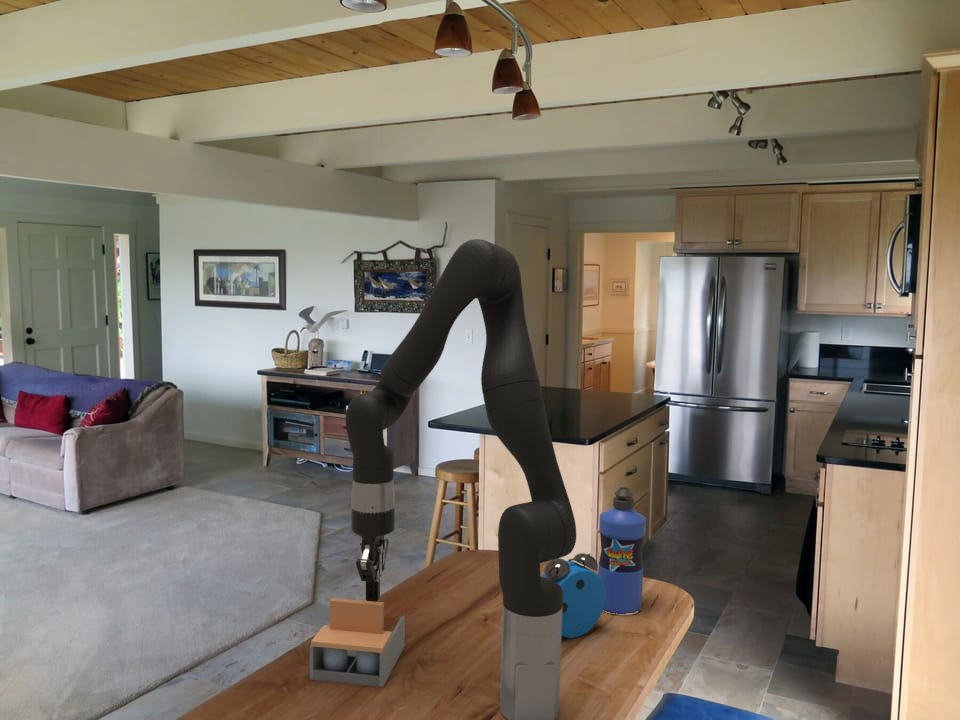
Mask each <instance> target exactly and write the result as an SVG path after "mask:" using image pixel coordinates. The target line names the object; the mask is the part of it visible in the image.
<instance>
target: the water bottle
mask: <svg viewBox="0 0 960 720" xmlns="http://www.w3.org/2000/svg"><path fill="white" fill-rule="evenodd" d="M614 495H615V496H613V498H612V499H613V500H612V506H613V507H612V508H611V509H608V510H606V511H603V512H601V513H600V514H599V524H598V531H599V537H600V556H599V561H598V568H597V571H598V572H597V573H598V574H597V575H598V576H599V577H600V578H601V580H602V582H603V584H604V588H605V604H604V608H603V610H604V611H607V612H610V613H615V614H616V613H617V614H626V613H634V612H636V611H639V610H640V609H641V610H642V601H643V599H642V598H643V582H644V581H643V578H644V565H643V556H642V555H643V554H642V553H643V547H644V543H645V542H644V541H645V536H646V532H647V531H646V530H647V518H646V516H645V515H644V514H641V513H639V512H637V511H636V510H635V509H634V508H635V499H634V498H633V496H634V493H633V491H631V489H630V488H629V487H626V486H621V487H619V488H618V489H617V490H615V492H614Z"/></svg>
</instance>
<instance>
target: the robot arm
mask: <svg viewBox="0 0 960 720" xmlns="http://www.w3.org/2000/svg"><path fill="white" fill-rule="evenodd" d="M523 295H524V293H523V285H522V277H521V270H520V266H519V263H518V261H517V258H515V256H514V255H513V253H511V251H509V250H508V249H507V248H504V247H502V246H500V245H498V244H495V243H492V242H490V241H487V240H485V239H480V238H478V239H477V238H474V239H470V240H466V241H465V242H463V243H462V244H460V246H458V247H457V249H456V250H455V251H454V253H453V254H452V255H451V257H450V258H449V260H448V262H447V264H446V266H445V268H444V269H443V272H442V273H441V275H440V278H439V279H438V281H437V283H436V285H435V286H434V288H433V290H432V292H431V294H430V295H429V298H428V299H427V301H426V303H425V304H424V307H423V308H422V311H421V312H420V313H419V315H418V317H417V319H416V320H415V322H414V324H413V325H412V327H411V328H410V329H409V331H408V333H406V335H405V337H404V338H403V339H402V340H401V342H400V343H399V344H398V346H397V347H396V348H395V349H394V351H393V352H392V353H391V355H390V356H389V358H388V359H387V360H386V361H385V363H384V364H383V366H382V367H381V369H380V380H379V381H378V383H377V384H376V385H375V387H373V388H372V390H371V391H368V392H365V393H361V394H358V395H356V396H354V397H353V398H352V399H351V400H350V402H349V403H348V405H347V408H346V413H345V427H346V428H345V429H346V433H347V438H348V443H349V447H350V450H351V453H352V458H353V459H352V486H351V487H352V488H351V499H350V501H351V503H350V506H351V523H350V524H351V532H352V533H354V534H355V535H356V536H357V535H358V536H360V537H361V542H360V543H359V547H358V548H359V549H358V553H359V554H360V558H357V559H356V561H355V565H356V568H357V572H358V575H359V578H360V581H361V582H365V601H373V602H379V601H378V600H379V599H380V598H381V579H382V576H383V574H382V572H384V571H385V565H386V559H387V553H388V548H389V547H388V546H389V539H388V538H385V536H386V535H389V534H391V533H393V532H394V530H395V526H396V525H395V514H396V513H395V506H396V505H395V503H396V500H395V498H396V497H395V496H396V494H395V493H396V491H395V485H394V484H395V483H394V453H393V451H392V449H391V447H390V446H388V445H385V438H384V430H386V429H389V428H390V427H392V426H393V425H394V424H395V423H396V422H397V421H398V420H399V419H400V418H401V416H402V415H403V414H404V412H405V411H406V409H407V407H408V405H409V403H410V401H411V399H412V397H413V396H414V393H415V392H416V390H417V389H418V388H419V387H420V386H421V385H422V384H423V382H424V381H425V380H426V378H427V377H428V376H429V375H430V373H431V372H432V371H433V370H434V368H435V367H436V366H437V364H438V362H439V360H440V359H441V357H442V355H443V353H444V349H445V346H446V344H447V339H448V337H449V334H450V332H451V329H452V327H453V325H454V324H455V322H456V321H457V319H458V317H459V316H460V315H461V313H462V312H463V311H464V310H465V309H466V308H467V307H468V306H470V304H471V303H472V302H473V301H474V300H475V299H477V301H478V303H479V306H480V310H481V314H482V318H483V324H484V328H485V335H486V337H485V338H486V339H485V348H484V354H483V361H482V366H481V377H480V381H481V383H480V384H481V391H482V395H483V402H484V407H485V413H486V417H487V420H488V423H489V425H490V427H491V429H492V431H493V432H494V434H495V436H496V437H497V438H498V439H499V440H500V442H501V443H502V444H503V446H504V447H505V448H506V450H508V452H509V453H510V454H511V455H512V457H514V459H515V461H516V462H517V463H518V465H519V466H520V468H521V470H522V472H523V475H524V476H525V480H526V484H527V486H528V490H529V494H530V495H529V496H530V499H531V501H528V502H527V501H526V502H522V503H518V504H513V505H509V506H508V507H506V508H505V509H504V511H503V512H502V514H501V516H500V519H499V523H498V527H497V528H498V530H497V531H498V532H497V543H498V544H497V545H498V547H497V548H498V577H499V585H500V588H501V592H502V619H501V620H502V621H501V653H500V654H501V655H500V684H499V685H500V692H499V693H500V694H499V695H500V696H499V697H500V698H499V710H500V713H501V714H502V716H503V717H505V719H507V720H555V719H557V717H558V716H559V712H560V691H561V690H560V689H561V687H560V686H561V658H562V657H561V656H562V637H563V636H562V611H563V591H562V588H561V587H560V585H559V584H558V583H556V582H554V581H553V580H550V579H548V578H545V577H541V576H542V575H541V564H542V563H546V562H549V561H551V560H554V559H557V558H561V559H562V558H564V557H566V556H568V555H570V554H571V553H572V551H573V550H574V548H575V546H576V542H577V525H576V520H575V519H576V518H575V515H574V512H573V511H574V510H573V508H572V505H571V502H570V498H569V495H568V492H567V489H566V486H565V482H564V479H563V477H562V474H561V470H560V466H559V464H558V460H557V455H556V452H555V449H554V448H555V447H554V443H553V440H552V439H553V438H552V435H551V431H550V426H549V423H548V418H547V417H548V416H547V413H546V406H545V400H544V396H543V392H542V387H541V383H540V379H539V375H538V371H537V370H538V369H537V366H536V362H535V358H534V352H533V347H532V343H531V339H530V334H529V330H528V326H527V320H526V313H525V312H526V311H525V303H524V296H523Z"/></svg>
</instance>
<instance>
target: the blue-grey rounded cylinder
mask: <svg viewBox="0 0 960 720" xmlns="http://www.w3.org/2000/svg"><path fill="white" fill-rule="evenodd" d="M379 671H380V653H376V652H366V651H357V670H356V674H366V675H375V676H379Z"/></svg>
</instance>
